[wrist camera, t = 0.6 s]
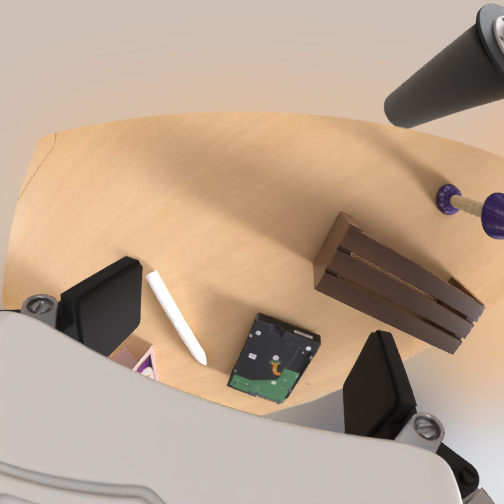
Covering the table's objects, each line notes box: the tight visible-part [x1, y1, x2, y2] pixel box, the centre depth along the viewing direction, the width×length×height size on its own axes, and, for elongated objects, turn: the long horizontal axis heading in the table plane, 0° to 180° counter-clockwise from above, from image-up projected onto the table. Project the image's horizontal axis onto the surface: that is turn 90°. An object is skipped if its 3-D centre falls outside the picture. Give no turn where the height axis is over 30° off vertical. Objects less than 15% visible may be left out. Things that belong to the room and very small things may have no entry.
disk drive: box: [227, 313, 321, 404], centre depth 43 cm, size 10×3×15 cm
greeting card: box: [112, 345, 159, 381], centre depth 43 cm, size 11×7×15 cm, turn 177°
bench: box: [313, 212, 485, 354], centre depth 32 cm, size 8×22×9 cm, turn 66°
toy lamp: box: [437, 184, 504, 239], centre depth 24 cm, size 5×5×17 cm
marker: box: [145, 270, 207, 365], centre depth 44 cm, size 18×2×2 cm, turn 26°
